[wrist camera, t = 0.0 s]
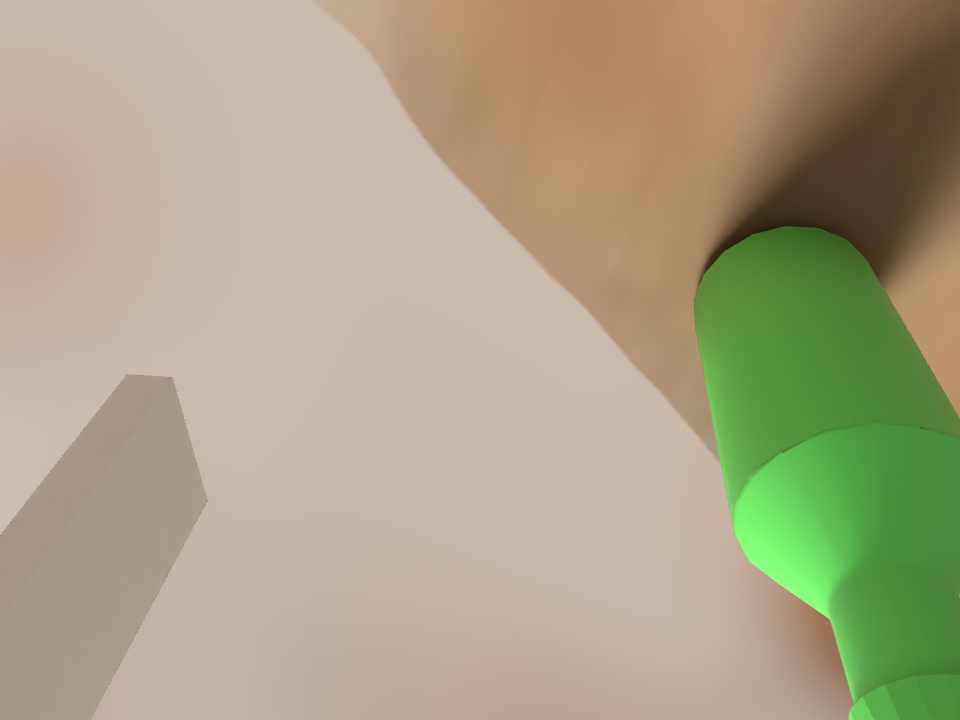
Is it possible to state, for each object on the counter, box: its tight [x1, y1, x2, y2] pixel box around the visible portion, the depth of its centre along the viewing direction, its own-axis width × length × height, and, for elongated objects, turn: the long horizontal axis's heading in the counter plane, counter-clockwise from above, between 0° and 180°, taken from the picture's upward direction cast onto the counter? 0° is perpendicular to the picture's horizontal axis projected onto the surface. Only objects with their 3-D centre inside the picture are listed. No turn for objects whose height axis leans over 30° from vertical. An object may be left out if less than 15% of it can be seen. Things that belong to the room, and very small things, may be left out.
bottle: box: [694, 226, 960, 720], centre depth 32 cm, size 9×9×25 cm
